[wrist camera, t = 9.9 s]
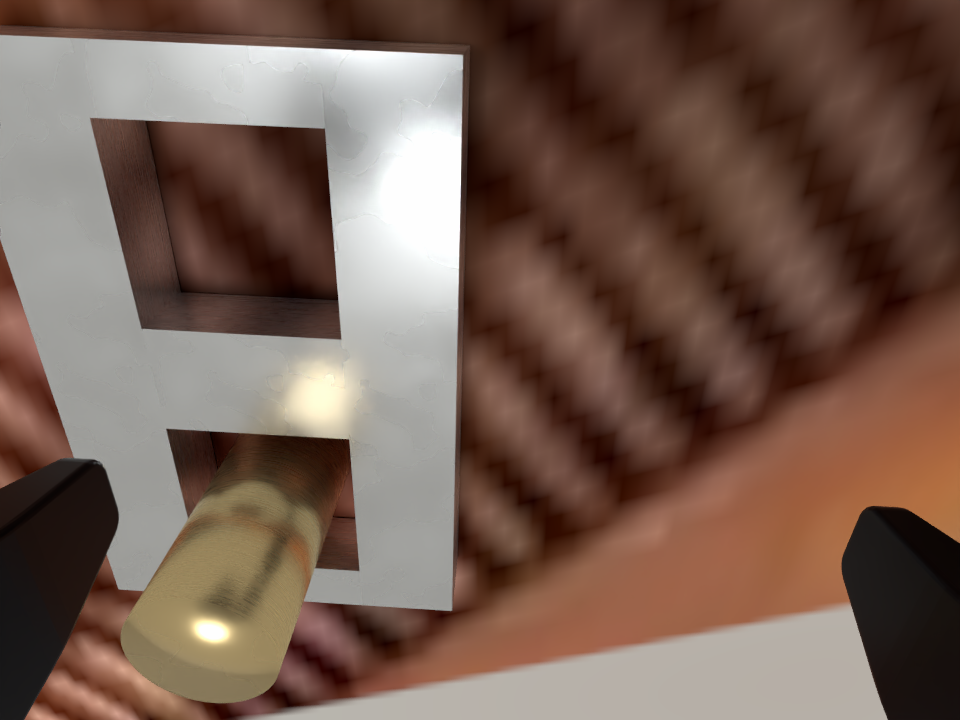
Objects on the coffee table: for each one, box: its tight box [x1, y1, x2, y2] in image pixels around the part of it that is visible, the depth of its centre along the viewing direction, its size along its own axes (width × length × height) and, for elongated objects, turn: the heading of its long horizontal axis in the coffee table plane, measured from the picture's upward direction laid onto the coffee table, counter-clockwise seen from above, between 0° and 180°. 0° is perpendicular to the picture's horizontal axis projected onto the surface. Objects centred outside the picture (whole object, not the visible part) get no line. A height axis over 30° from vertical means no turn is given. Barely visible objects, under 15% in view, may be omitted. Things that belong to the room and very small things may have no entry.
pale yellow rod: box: [121, 433, 349, 703], centre depth 20 cm, size 4×4×8 cm
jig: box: [0, 25, 470, 611], centre depth 20 cm, size 12×18×2 cm, turn 178°
